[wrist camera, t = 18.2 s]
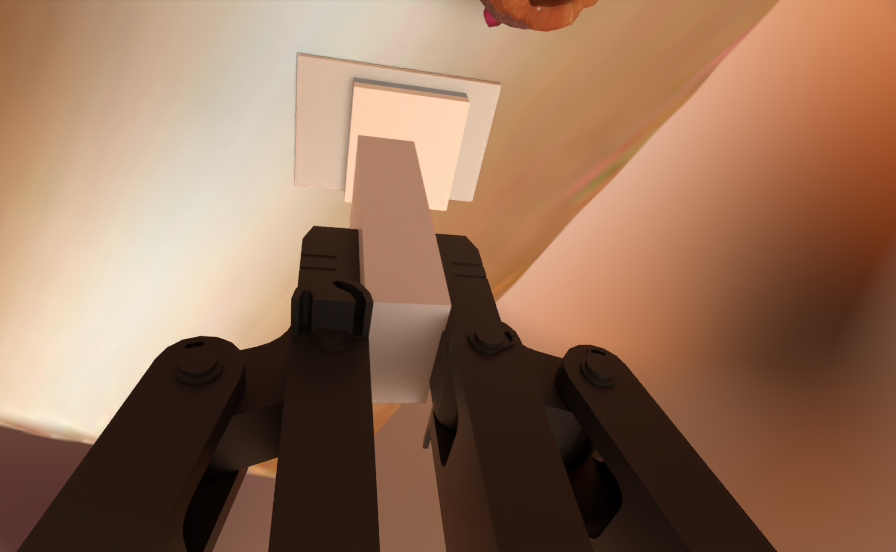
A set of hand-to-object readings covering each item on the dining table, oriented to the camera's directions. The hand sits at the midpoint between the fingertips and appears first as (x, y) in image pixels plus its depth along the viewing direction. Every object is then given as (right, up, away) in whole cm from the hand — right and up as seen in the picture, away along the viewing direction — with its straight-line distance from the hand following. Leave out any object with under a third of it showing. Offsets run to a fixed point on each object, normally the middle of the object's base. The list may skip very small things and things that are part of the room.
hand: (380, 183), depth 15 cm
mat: (-3, +9, +30) cm, 32 cm away
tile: (-6, +8, +28) cm, 30 cm away
